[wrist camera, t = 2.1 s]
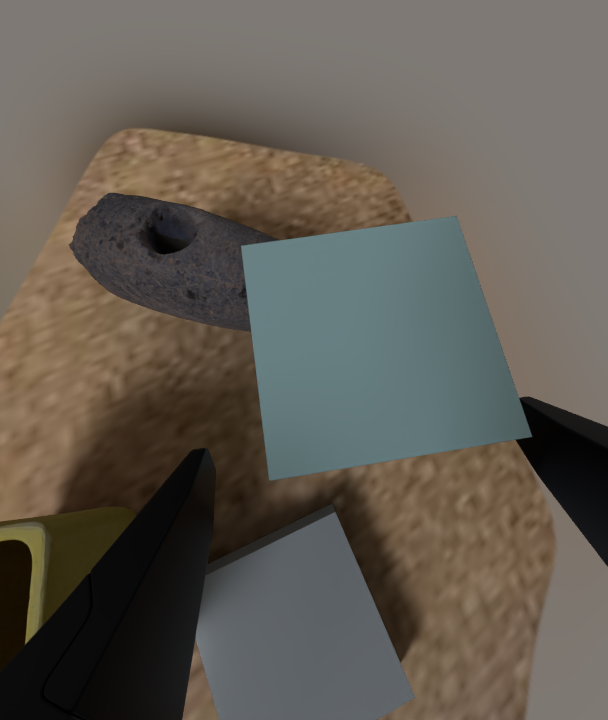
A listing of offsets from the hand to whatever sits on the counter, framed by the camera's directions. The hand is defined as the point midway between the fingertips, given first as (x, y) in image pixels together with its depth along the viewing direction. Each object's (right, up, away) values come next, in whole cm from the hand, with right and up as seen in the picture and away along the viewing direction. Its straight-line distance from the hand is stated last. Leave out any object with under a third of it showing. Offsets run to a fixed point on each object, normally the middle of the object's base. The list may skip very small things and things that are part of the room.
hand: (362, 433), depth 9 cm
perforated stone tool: (-5, +5, +11) cm, 14 cm away
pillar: (0, -1, +9) cm, 9 cm away
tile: (-2, -11, +7) cm, 13 cm away
